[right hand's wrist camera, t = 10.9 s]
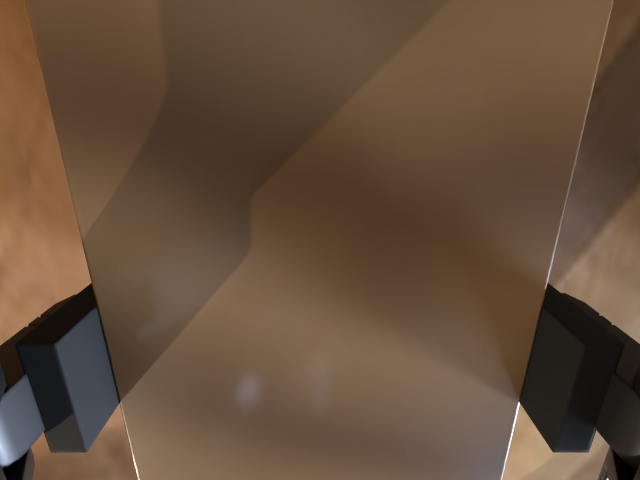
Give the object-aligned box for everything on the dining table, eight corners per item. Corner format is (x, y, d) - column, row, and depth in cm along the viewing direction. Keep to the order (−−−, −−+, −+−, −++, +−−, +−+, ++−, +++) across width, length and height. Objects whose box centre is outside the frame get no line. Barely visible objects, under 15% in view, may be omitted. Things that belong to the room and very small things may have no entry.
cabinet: (176, -167, 13) (-171, -820, 4) (462, -167, 13) (810, -820, 4) (225, 314, 19) (140, 500, 10) (414, 314, 19) (498, 499, 10)
